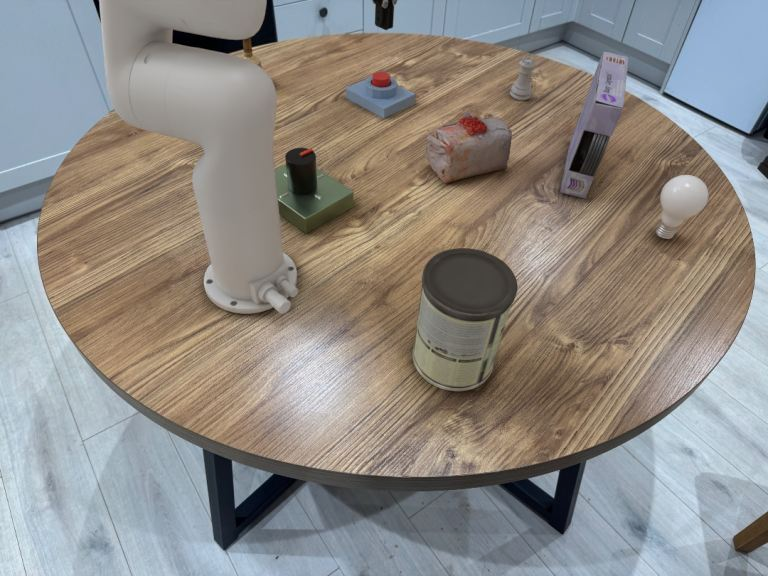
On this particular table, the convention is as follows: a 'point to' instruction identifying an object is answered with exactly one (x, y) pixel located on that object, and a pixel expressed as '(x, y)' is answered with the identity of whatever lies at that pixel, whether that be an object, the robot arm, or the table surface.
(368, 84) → the button box
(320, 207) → the knob console
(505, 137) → the food item
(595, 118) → the cake pan box
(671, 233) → the lightbulb
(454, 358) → the coffee can
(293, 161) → the dial knob
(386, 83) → the button
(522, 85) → the rook chess piece
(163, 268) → the table surface
